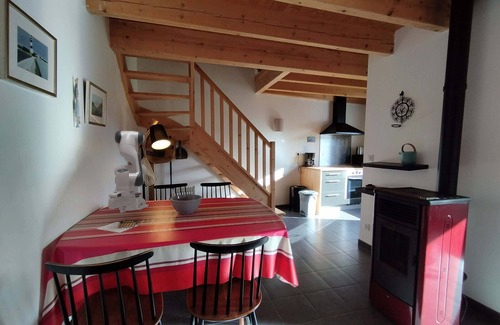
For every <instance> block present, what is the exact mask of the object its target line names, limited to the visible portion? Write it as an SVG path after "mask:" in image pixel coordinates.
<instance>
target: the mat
mask: <svg viewBox="0 0 500 325" xmlns="http://www.w3.org/2000/svg"><path fill="white" fill-rule="evenodd" d="M120 222H121V221H115V222H112V223H109V224H106V225H103V226H100V227H97V228H96V230H99V231H105V232H112V233H118V234H120V233H122V232H125V231H128V230H131V229H133V228H136V227H138V226H140V225H139V224H136V225H135V226H134V227H132V226H131V227H129V226H128V227H127V228H126V227H125V228H123V227H122V228H120V227H121V226H120V227H119V228H117V227H118V225H119V224H120Z"/></svg>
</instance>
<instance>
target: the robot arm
mask: <svg viewBox="0 0 500 325" xmlns="http://www.w3.org/2000/svg"><path fill="white" fill-rule="evenodd" d="M113 137H114V142H115V143H116V144H118V145H119V147H118V148H119V149H118V151H119V155H120V156H121V157H123V159H124V160H125V161H126V162H128V163H131V164H122V165H116V167H115V168H114V171H113V172H114V175H115V177H114V184H115V190H114V191H111V192H110V193H109V194H108V200H107V201H108V202H107V205H108V209H110V210H115V209H119V212H120V214H123V213H126V212H127V211H141V210H143V209H145V208H147V207H149V204H147V203H146V200H145V199H144V198H143V197H141V196H142V194H143V192H139V187H142V186H143V185H144V184H145V180H146V178H145V177H146V176H147V173H148V169H147V166H146V165H144V164H143V163H142V160H141V159H142V158H141V155H140V153H139V146H140V145H142V144H144V142H145V140H146V138H145V134H144V132H142V131H135V130H134V131H133V130H117V131H115V133H114V136H113Z"/></svg>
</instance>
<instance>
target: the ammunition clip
mask: <svg viewBox="0 0 500 325" xmlns="http://www.w3.org/2000/svg"><path fill="white" fill-rule="evenodd" d="M119 222H120V224H119V225H118V227H117V228H119V227H120V226H121V227H120V228H122V227H123V228H125V227H126V228H127V227H128V226H129V227H131V226H132V227H134V226H135V225H138V219H129V220H127V219H125V220H121V221H119ZM134 228H135V227H134Z"/></svg>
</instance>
